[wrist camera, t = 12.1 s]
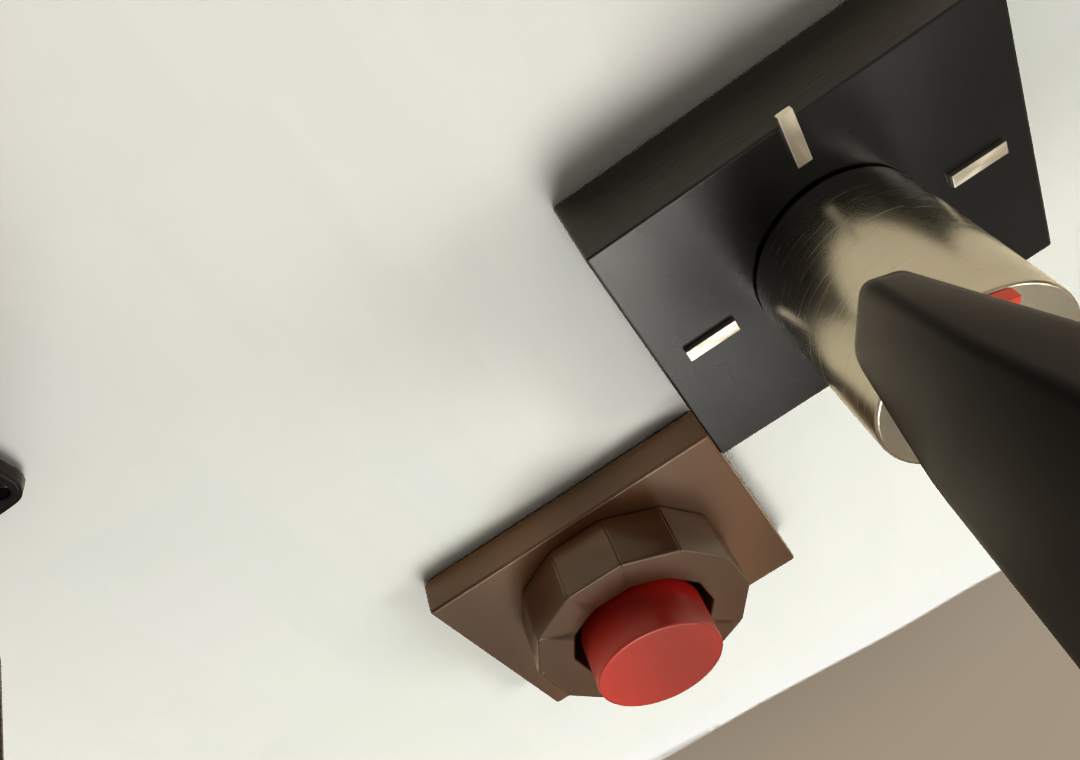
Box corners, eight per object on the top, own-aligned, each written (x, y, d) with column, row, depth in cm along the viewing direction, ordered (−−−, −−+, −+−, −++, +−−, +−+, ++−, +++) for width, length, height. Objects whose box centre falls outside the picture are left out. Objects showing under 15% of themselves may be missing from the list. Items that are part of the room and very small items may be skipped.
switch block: (548, 675, 33) (573, 748, 30) (422, 583, 28) (441, 663, 25) (778, 533, 31) (822, 599, 29) (691, 408, 26) (736, 477, 24)
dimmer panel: (689, 404, 26) (728, 464, 24) (545, 198, 20) (580, 254, 18) (989, 209, 25) (1058, 255, 23) (923, -70, 19) (1005, -41, 17)
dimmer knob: (916, 297, 22) (1069, 432, 18) (757, 353, 22) (877, 503, 18) (935, 139, 19) (1120, 258, 15) (752, 199, 19) (894, 338, 15)
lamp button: (615, 674, 29) (634, 722, 28) (556, 627, 26) (574, 676, 25) (718, 612, 28) (742, 657, 27) (668, 557, 26) (692, 604, 25)
